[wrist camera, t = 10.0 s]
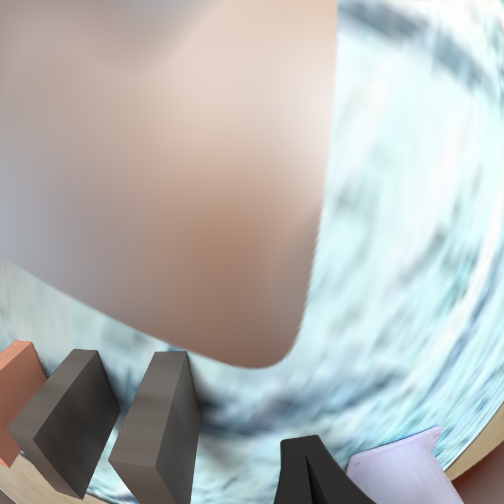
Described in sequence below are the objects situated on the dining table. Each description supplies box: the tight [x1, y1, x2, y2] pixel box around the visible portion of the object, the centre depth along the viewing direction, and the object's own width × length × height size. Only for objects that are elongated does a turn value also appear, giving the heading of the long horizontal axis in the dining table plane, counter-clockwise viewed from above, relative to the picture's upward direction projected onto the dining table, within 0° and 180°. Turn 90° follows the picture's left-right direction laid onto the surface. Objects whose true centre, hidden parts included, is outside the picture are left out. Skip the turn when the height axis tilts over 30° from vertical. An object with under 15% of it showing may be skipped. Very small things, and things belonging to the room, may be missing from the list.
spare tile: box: [0, 340, 47, 468], centre depth 10 cm, size 4×2×7 cm, turn 4°
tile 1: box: [108, 351, 201, 504], centre depth 10 cm, size 4×2×7 cm, turn 4°
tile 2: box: [7, 349, 121, 500], centre depth 10 cm, size 4×2×7 cm, turn 4°
